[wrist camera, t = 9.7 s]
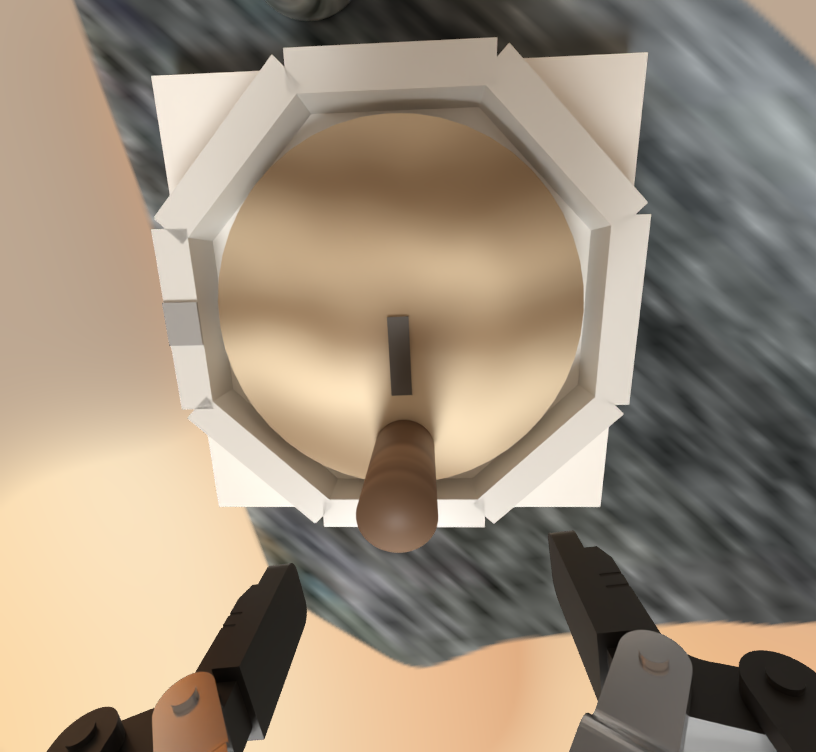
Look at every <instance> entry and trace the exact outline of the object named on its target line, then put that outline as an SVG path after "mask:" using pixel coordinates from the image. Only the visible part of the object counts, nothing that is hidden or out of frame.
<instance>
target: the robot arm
mask: <svg viewBox="0 0 816 752" xmlns="http://www.w3.org/2000/svg"><path fill="white" fill-rule="evenodd" d="M548 542H549V551H550V560H551V569H552V578H553V583H554V588H555V592H556V595H557V598H558V601H559V603H560V606H561V609H562V611H563V614H564V616H565V619H566V621H567V624H568V626H569V629H570V631H571V634H572V636H573V639H574V642H575V644H576V646H577V649H578V651H579V654H580V657H581V659H582V662H583V664H584V667H585V669H586V672H587V675H588V677H589V680H590V682H591V685H592V687H593V690H594V692H595V695H596V697H597V700H598V703H597V706H596V709H595V711H594V713H593V714H592V715H591V714H590V713H586V714H585V715H584V716H583V718H582V719H581V722H580V724H579V727H578V729H577V732H576V735H575V737H574V740H573V743H572V746H571V748H570V751H569V752H816V673H815V672H814V671H813V670H812V669H810V668H809V667H807V666H806V665H804V664H803V663H801V662H799V661H797V660H795V659H793V658H791V657H788V656H786V655H783V654H780V653H776V652H771V651H763V650H759V651H752V652H749V653H747V654H745V655H744V656H743V657H742V658H741V660H740V662H739V667H735V666H730V665H725V664H720V663H714V662H708V661H705V660H701V659H698V658H695V657H692V656H690V655H688V654H687V653H686V652H685V651H684V650H683V648H682V647H681V646H679V645H678V644H677V643H676V642H675V641H673V640H672V639H670V638H668V637H667V636H665V635H662V634H661V633H660V632H659V630H658V629H657V627H656V625H655V624H654V622H653V621H652V619H651V618H650V616H649V615H648V613H647V611H646V610H645V608H644V607H643V605H642V604H641V602H640V601H639V599H638V597H637V596H636V594H635V593H634V591H633V590H632V588H631V587H630V586H629V584H628V582H627V580H626V579H625V577H624V576H623V574H621V571H620V569H619V568H618V566H617V565H616V563H615V562H614V560H613V559H612V557H611V556H609V555H608V554H606V553H605V552H604V551H602V550H601V549H600V548H598V547H597V546H595V547H586V548H584V547H583V545H582V543H581V542H580V540H579V538H578V536H577V534H576V533H575V531H573V530H572V531H564V532H556V533H549V534H548ZM306 616H307V607H306V601H305V597H304V594H303V590H302V587H301V583H300V580H299V576H298V572H297V569H296V566H295V565H294V564H293V563H289V564H281V565H273V566H269V567H268V568H267V570H266V571H265V573H264V575H263V576H262V578H261V580H260V582H259V584H257V585H252V586H251V587H250V588H249V589H248V590H247V591H246V592H245V593H244V594H243V595H242V596H241V597H240V598H239V599H238V601H237V602H236V604H235V606H234V608H233V609H232V611H231V613H230V616H228V618H227V619H226V621H225V623H224V624H223V628H221V630H220V631H219V633H218V635H217V636H216V638H215V640H214V642H213V643H212V645H211V647H210V648H209V650H208V652H207V653H206V655H205V657H204V658H203V660H202V662H201V664H200V665H199V667H198V669H197V670H196V672H195V673H193V674H190V675H188V676H186V677H184V678H182V679H181V680H179V681H178V682H176V683H175V684H174V685H172V686H171V687H170V688H169V689H168V690H167V691H166V692H165V693H164V694H163V695H162V697H161V698H160V699H159V701H158V703H157V704H156V706H155V708H153V709H150V710H148V711H145V712H143V713H140V714H138V715H135V716H132V717H130V718H127V719H125V720H122V721H121V719H120V717H119V715H118V712H117V711H116V710H115V709H114V708H112V707H102V708H98V709H95V710H93V711H91V712H89V713H87V714H85V715H84V716H82V717H80V718H79V719H78V720H76V721H75V722H73V723H72V724H71V725H70V726H69V727H67V728H66V729H65V730H64V731H63V732H62V733H61V734H60V735H59V736H58V738H57V739H56V740H55V741H54V743H53V744H52V745H51V747H50V748H49V749H48V750H47V752H243V750H244V748H245V746H246V743H247V741H251V740H263V739H265V736H266V733H267V730H268V727H269V725H270V721H271V719H272V716H273V713H274V710H275V708H276V705H277V702H278V699H279V697H280V694H281V691H282V688H283V685H284V682H285V680H286V677H287V674H288V671H289V669H290V666H291V663H292V660H293V657H294V655H295V652H296V649H297V646H298V643H299V640H300V637H301V635H302V632H303V629H304V626H305V623H306Z"/></svg>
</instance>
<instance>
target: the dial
mask: <svg viewBox="0 0 816 752" xmlns="http://www.w3.org/2000/svg"><path fill="white" fill-rule="evenodd" d="M218 309H219V319H220V328H221V332H222V337H223V341H224V345H225V350H226V352H227V355H228V358H229V361H230V363H231V366H232V369H233V372H234V374H235V376H236V377H237V379H238V381H239V383H240V385H241V387H242V389H243V391H244V393H245V394H246V396H247V397H248V399H249V400H250V402H251V403H252V405H253V406H254V408H255V409H256V411H257V412H258V413H259V414H260V415H261V416H262V418H263V419H264V420H265V421H266V422H267V423H268V425H269V426H270V427H271V428H272V429H273V430H274V431H275V432H277V433H278V434H279V435H280V436H281V437H282V438H283V439H284V440H285V441H286V442H288V443H289V444H290V445H292V446H293V447H295V448H296V449H297V450H299V451H300V452H301V453H303V454H304V455H306V456H308V457H310V458H311V459H313V460H315V461H317V462H319V463H320V464H322V465H324V466H327V467H329V468H331V469H334V470H336V471H339V472H341V473H344V474H347V475H351V476H354V477H358V478H362V479H365V480H364V484H363V487H362V491H361V494H360V498H359V501H358V505H357V508H356V521H357V525H358V528H359V530H360V532H361V533H362V535H363V536H364V537H365V539H366V540H367V541H368V542H370V543H371V544H372V545H374V546H375V547H377V548H379V549H382V550H385V551H388V552H397V553H401V552H408V551H412V550H415V549H417V548H419V547H421V546H423V545H424V544H425V543H426V542H428V541H429V540H430V538H431V537H432V536H433V534H434V532H435V531H436V528H437V524H438V502H437V484H436V480H438V479H443V478H448V477H451V476H454V475H457V474H460V473H463V472H466V471H469V470H472V469H474V468H476V467H478V466H480V465H482V464H484V463H486V462H488V461H490V460H492V459H493V458H495V457H497V456H498V455H500V454H501V453H503V452H505V451H506V450H508V449H509V448H510V447H511V446H513V445H514V444H515V443H516V442H518V441H519V440H520V439H521V438H522V437H524V436H525V435H526V434H527V433H528V432H529V431H530V430H531V429H532V428H533V427H534V426H535V424H536V423H537V422H538V421H539V420H540V419H541V418H542V417H543V415H544V414H545V413H546V411H547V410H548V409H549V407H550V406H551V404H552V403H553V402H554V400H555V399H556V397H557V395H558V393H559V391H560V390H561V388H562V386H563V384H564V383H565V381H566V378H567V376H568V374H569V371H570V369H571V366H572V364H573V361H574V359H575V355H576V351H577V347H578V344H579V340H580V336H581V329H582V321H583V313H584V285H583V278H582V271H581V264H580V259H579V256H578V252H577V248H576V245H575V241H574V238H573V235H572V233H571V230H570V228H569V226H568V224H567V221H566V219H565V217H564V214H563V212H562V211H561V209H560V207H559V206H558V204H557V203H556V201H555V199H554V198H553V196H552V194H551V193H550V191H549V190H548V189H547V187H546V186H545V185H544V184H543V182H542V181H541V180H540V179H539V178H538V176H537V175H536V174H535V173H534V172H533V170H532V169H530V168H529V167H528V166H527V165H526V164H525V163H524V162H523V161H522V160H521V159H520V158H518V157H517V156H516V155H515V154H514V153H513V152H512V151H510V150H509V149H507V148H506V147H504V146H503V145H501V144H500V143H498V142H497V141H495V140H494V139H492V138H491V137H489V136H487V135H485V134H483V133H481V132H479V131H476V130H474V129H472V128H470V127H468V126H466V125H463V124H460V123H456V122H453V121H450V120H447V119H444V118H440V117H434V116H427V115H421V114H415V113H385V114H378V115H371V116H364V117H359V118H356V119H352V120H349V121H346V122H342V123H339V124H336V125H333V126H331V127H329V128H327V129H325V130H323V131H320V132H318V133H316V134H314V135H312V136H310V137H309V138H307V139H306V140H304V141H303V142H301V143H300V144H298V145H296V146H295V147H293V148H292V149H290V150H289V151H288V152H287V153H286V154H285V155H283V156H282V157H281V158H280V159H279V160H278V161H277V162H276V163H274V164H273V165H272V166H271V167H270V168H269V169H268V170H267V172H266V173H265V174H264V175H263V176H262V177H261V179H260V180H259V181H258V182H257V183H256V185H255V186H254V187H253V188H252V190H251V192H250V193H249V195H248V196H247V198H246V200H245V201H244V203H243V204H242V206H241V207H240V209H239V212H238V214H237V216H236V218H235V220H234V223H233V225H232V227H231V229H230V232H229V235H228V238H227V241H226V245H225V248H224V251H223V255H222V261H221V267H220V273H219V283H218Z"/></svg>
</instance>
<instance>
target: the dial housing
mask: <svg viewBox="0 0 816 752" xmlns="http://www.w3.org/2000/svg"><path fill="white" fill-rule="evenodd" d="M283 54H284V66H285V67H284V66H283V65H282V64H281V63H280V62H279V61H278V60H277V59H276V58H275V57H274V56H273V55H271V56H270V57H269V59H268V60H267V62H266V63H265V64H264V66H263V67H262V69H261V70H260V71H246V72H225V73H204V74H183V75H162V76H151V78H152V84H153V90H154V97H155V103H156V109H157V116H158V122H159V129H160V135H161V141H162V148H163V154H164V160H165V167H166V173H167V179H168V186H169V192H170V196H169V197H168V199H167V200H166V202H165V203H164V204H163V206H162V207H161V208H160V210H159V211H158V213H157V214H156V215H155V217H154V219H155V220H156V221H157V222H158V223H159V224H160V225H162V226H163V227H164V228H165V229H152V230H151V232H152V238H153V243H154V249H155V255H156V261H157V266H158V273H159V278H160V284H161V290H162V296H163V302H164V303H162V305H163V311H164V317H165V323H166V329H167V334H168V340H169V346H171V348H172V354H173V360H174V366H175V372H176V377H177V383H178V389H179V395H180V401H181V407H182V409H195V410H194V411H193V413H191V414H190V416H189V417H188V419H189V420H190V421H191V422H192V423H194V424H195V425H196V426H197V427H199V428H200V429H201V430H202V431H203V432H205V433H206V434H207V435H208V440H209V446H210V452H211V458H212V465H213V471H214V478H215V484H216V490H217V496H218V503H219V507H296V508H297V509H298V510H299V511H301V512H302V513H303V514H304V515H306V516H307V517H308V518H309V519H310V520H312V521H313V522H314V523H316V522H317V521H318V520H319V519H320V518H321V517H322V516H323V518H324V527H358V525H357V521H356V508H357V505H358V501H359V498H360V494H361V491H362V487H363V484H364V480H365V479H362V478H358V477H354V476H351V475H347V474H344V473H341V472H339V471H336V470H334V469H331V468H329V467H327V466H324V465H322V464H320V463H319V462H317V461H315V460H313V459H311V458H310V457H308V456H306V455H304V454H303V453H301V452H300V451H299V450H297V449H296V448H295V447H293V446H292V445H290V444H289V443H288V442H286V441H285V440H284V439H283V438H282V437H281V436H280V435H279V434H278V433H277V432H275V431H274V430H273V429H272V428H271V427H270V426H269V425H268V423H267V422H266V421H265V420H264V419H263V418H262V416H261V415H260V414H259V413H258V412H257V411H256V409H255V408H254V406H253V405H252V403H251V402H250V400H249V399H248V397H247V396H246V394H245V393H244V391H243V389H242V387H241V385H240V383H239V381H238V379H237V377H236V376H235V374H234V372H233V369H232V366H231V363H230V361H229V358H228V355H227V352H226V350H225V345H224V341H223V337H222V332H221V328H220V319H219V309H218V283H219V273H220V267H221V261H222V255H223V251H224V248H225V245H226V241H227V238H228V235H229V232H230V229H231V227H232V225H233V223H234V220H235V218H236V216H237V214H238V212H239V209H240V207H241V206H242V204H243V203H244V201H245V200H246V198H247V196H248V195H249V193H250V192H251V190H252V188H253V187H254V186H255V185H256V183H257V182H258V181H259V180H260V179H261V177H262V176H263V175H264V174H265V173H266V172H267V170H268V169H269V168H270V167H271V166H272V165H273V164H274V163H276V162H277V161H278V160H279V159H280V158H281V157H282V156H283V155H285V154H286V153H287V152H288V151H289V150H290V149H292V148H293V147H295V146H296V145H298V144H300V143H301V142H303V141H304V140H306V139H307V138H309V137H310V136H312V135H314V134H316V133H318V132H320V131H323V130H325V129H327V128H329V127H331V126H333V125H336V124H339V123H342V122H346V121H349V120H352V119H356V118H359V117H364V116H371V115H378V114H385V113H415V114H421V115H427V116H434V117H440V118H444V119H447V120H450V121H453V122H456V123H460V124H463V125H466V126H468V127H470V128H472V129H474V130H476V131H479V132H481V133H483V134H485V135H487V136H489V137H491V138H492V139H494V140H495V141H497V142H498V143H500V144H501V145H503V146H504V147H506V148H507V149H509V150H510V151H512V152H513V153H514V154H515V155H516V156H517V157H518V158H520V159H521V160H522V161H523V162H524V163H525V164H526V165H527V166H528V167H529V168H530V169H532V170H533V172H534V173H535V174H536V175H537V176H538V178H539V179H540V180H541V181H542V182H543V184H544V185H545V186H546V187H547V189H548V190H549V191H550V193H551V194H552V196H553V198H554V199H555V201H556V203H557V204H558V206H559V207H560V209H561V211H562V212H563V214H564V217H565V219H566V221H567V224H568V226H569V228H570V230H571V233H572V235H573V238H574V241H575V245H576V248H577V252H578V256H579V259H580V264H581V271H582V278H583V285H584V313H583V321H582V329H581V336H580V340H579V344H578V347H577V351H576V355H575V359H574V361H573V364H572V366H571V369H570V371H569V374H568V376H567V378H566V381H565V383H564V384H563V386H562V388H561V390H560V391H559V393H558V395H557V397H556V399H555V400H554V402H553V403H552V404H551V406H550V407H549V409H548V410H547V411H546V413H545V414H544V415H543V417H542V418H541V419H540V420H539V421H538V422H537V423H536V424H535V426H534V427H533V428H532V429H531V430H530V431H529V432H528V433H527V434H526V435H525V436H524V437H522V438H521V439H520V440H519V441H518V442H516V443H515V444H514V445H513V446H511V447H510V448H509V449H508V450H506V451H505V452H503V453H501V454H500V455H498V456H497V457H495V458H493V459H492V460H490V461H488V462H486V463H484V464H482V465H480V466H478V467H476V468H474V469H472V470H469V471H466V472H463V473H460V474H457V475H454V476H451V477H448V478H443V479H438V480H436V484H437V502H438V524H437V527H485V516H486V517H487V518H488V519H489V520H490V521H491V522H492V523H493V524H494V523H495V522H497V521H498V520H499V519H500V518H501V517H503V516H504V515H505V514H506V513H507V512H508V511H510V510H511V509H512V508H513V507H600V504H601V495H602V485H603V476H604V466H605V457H606V447H607V438H608V428H609V426H610V425H611V424H613V423H614V422H615V421H616V420H617V419H618V418H620V417H621V416H622V415H623V413H622V412H621V411H620V410H619V409H618V408H617V407H616V406H615V405H629V400H630V392H631V383H632V375H633V366H634V357H635V349H636V340H637V332H638V323H639V315H640V306H641V297H642V289H643V280H644V272H645V263H646V255H647V246H648V237H649V229H650V220H651V214H644V215H635V214H636V213H637V212H638V211H640V210H641V209H642V208H643V207H644V206H645V205H646V204H647V203H648V202H647V201H646V200H645V199H644V197H643V196H642V195H641V194H640V193H639V192H638V191H637V189H636V188H635V187H634V181H635V171H636V162H637V152H638V143H639V133H640V124H641V114H642V105H643V95H644V86H645V76H646V67H647V57H648V52H645V53H624V54H603V55H582V56H561V57H540V58H522V57H521V55H520V54H519V53H518V52H517V51H516V50H515V48H514V47H513V46H512V45H511V44H510V43H508V45H507V46H506V47H505V48H504V49H503V50H502V52H501V53H500V54H499V55H498V56H497V37H492V38H472V39H452V40H432V41H412V42H392V43H372V44H352V45H332V46H312V47H292V48H283Z"/></svg>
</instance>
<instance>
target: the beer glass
mask: <svg viewBox="0 0 816 752" xmlns="http://www.w3.org/2000/svg"><path fill="white" fill-rule="evenodd" d="M264 1H265V2H266V3H267V4H268V5H269V6H270V7H272V8H273V9H274V10H276V11H277V12H279V13H280V14H282V15H284V16H286V17H289V18H292V19H295V20H300V21H317V20H322V19H325V18H328V17H330V16H332V15H334V14H336V13H338V12H339V11H341V10H342V9H343V8H344V7H345V6H347V5H348V4H349V3H350V1H351V0H264Z"/></svg>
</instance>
